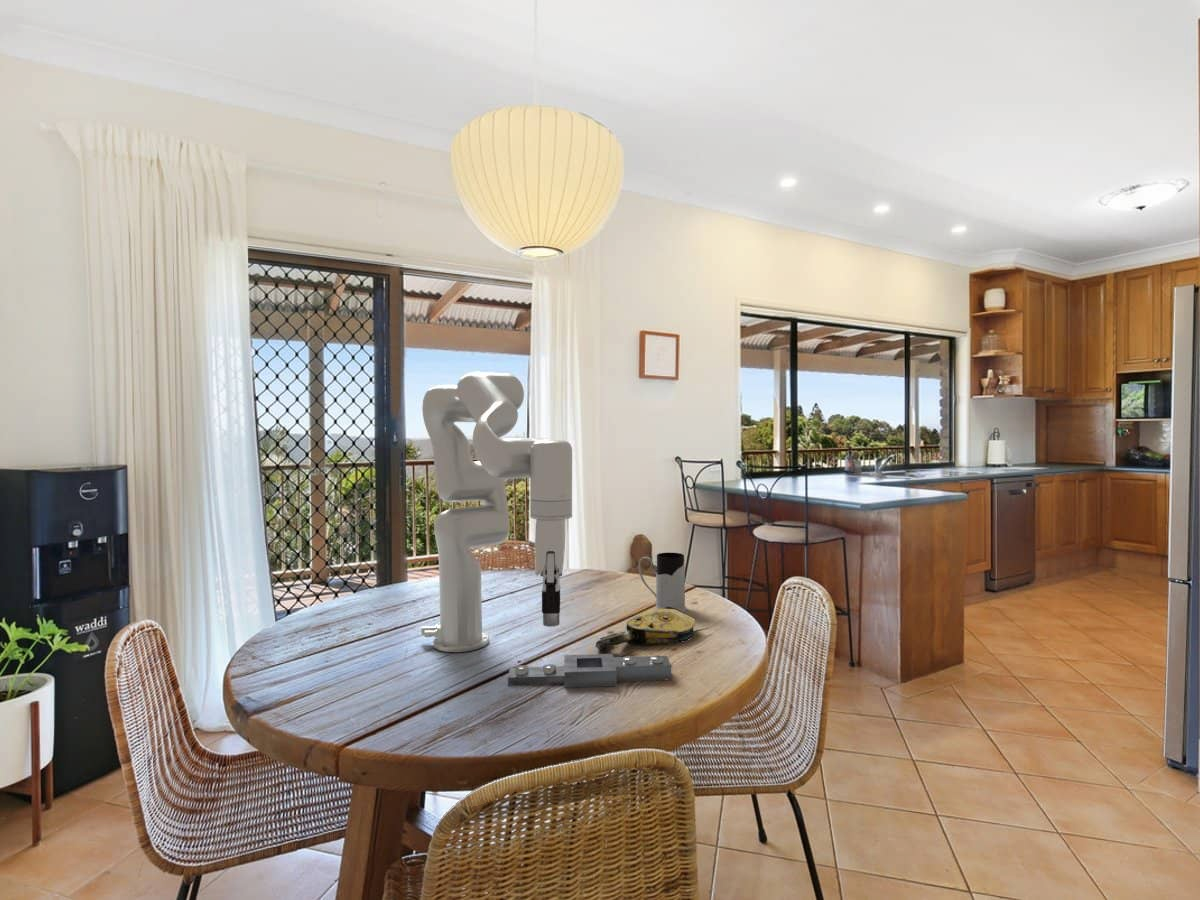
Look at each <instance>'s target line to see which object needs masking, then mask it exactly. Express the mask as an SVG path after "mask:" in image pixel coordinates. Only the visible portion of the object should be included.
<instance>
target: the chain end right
mask: <svg viewBox="0 0 1200 900" xmlns="http://www.w3.org/2000/svg"><path fill="white" fill-rule="evenodd" d="M563 664H564V665H563V666H564V679H565V680H580V679H612V678H616V683H617V682H618V683H620V682H621V683H622V682H651V681H650V680H658V681H666V680H665V679H671V680H672V664H671V662H670V659H669V658H668V655H656V654H655V655H650V656H646V655H645V656H643V655H642V656H632V655H631V656H629V655H626V656H619V657H618V656H617V657H616V656H615V657H614V654H613V653H601V654H600V653H599V654H598V653H594V654H592V653H591V654H567V655H566V654H565V655H564V663H563ZM584 665H601V666H602V667H589V668H577V666H584Z"/></svg>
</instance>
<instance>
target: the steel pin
mask: <svg viewBox="0 0 1200 900" xmlns="http://www.w3.org/2000/svg"><path fill="white" fill-rule="evenodd" d="M545 573H547V571H545ZM554 573H557V568H556V571H554ZM539 575H540V577H542V578H543V571H542V574H539ZM562 576H563V573H562V574H561V575H559V591H560V592H561V584H560V583H561V579H560V578H561V577H562ZM546 579H547V578H546ZM554 579H555V580H556V578H554ZM555 586H556V585H555ZM560 613H561V612H560ZM560 613H558V614H543V613H542V625H543V626H544V627H553V628H554V627H558V626H559V625H560V623H561V622H560V620H561V617H560V616H561V615H560Z"/></svg>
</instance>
